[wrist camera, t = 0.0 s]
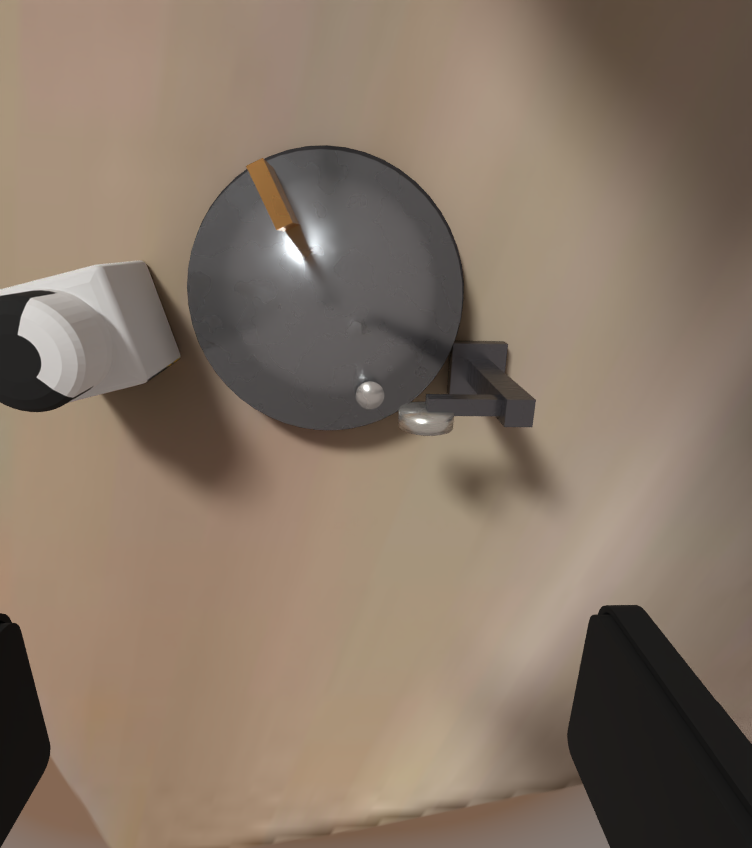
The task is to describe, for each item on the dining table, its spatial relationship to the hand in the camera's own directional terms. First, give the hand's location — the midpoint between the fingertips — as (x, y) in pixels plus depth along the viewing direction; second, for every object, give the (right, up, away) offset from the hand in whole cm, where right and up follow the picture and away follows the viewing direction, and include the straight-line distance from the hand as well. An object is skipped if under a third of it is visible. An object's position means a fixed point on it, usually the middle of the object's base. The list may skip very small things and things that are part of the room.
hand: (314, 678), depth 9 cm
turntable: (-2, +13, +27) cm, 30 cm away
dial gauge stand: (+6, +9, +30) cm, 32 cm away
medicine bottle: (-17, +12, +29) cm, 35 cm away
